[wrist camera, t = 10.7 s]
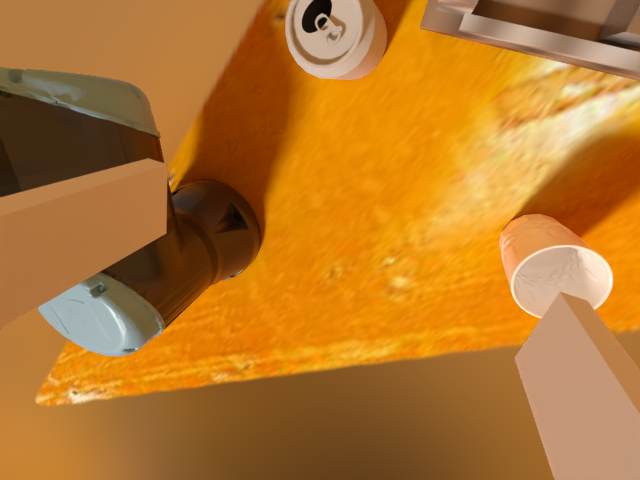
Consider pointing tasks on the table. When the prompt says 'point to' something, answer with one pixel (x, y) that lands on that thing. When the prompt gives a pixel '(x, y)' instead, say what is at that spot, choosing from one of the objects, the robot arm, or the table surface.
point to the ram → (623, 24)
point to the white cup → (551, 264)
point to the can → (336, 37)
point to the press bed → (537, 30)
